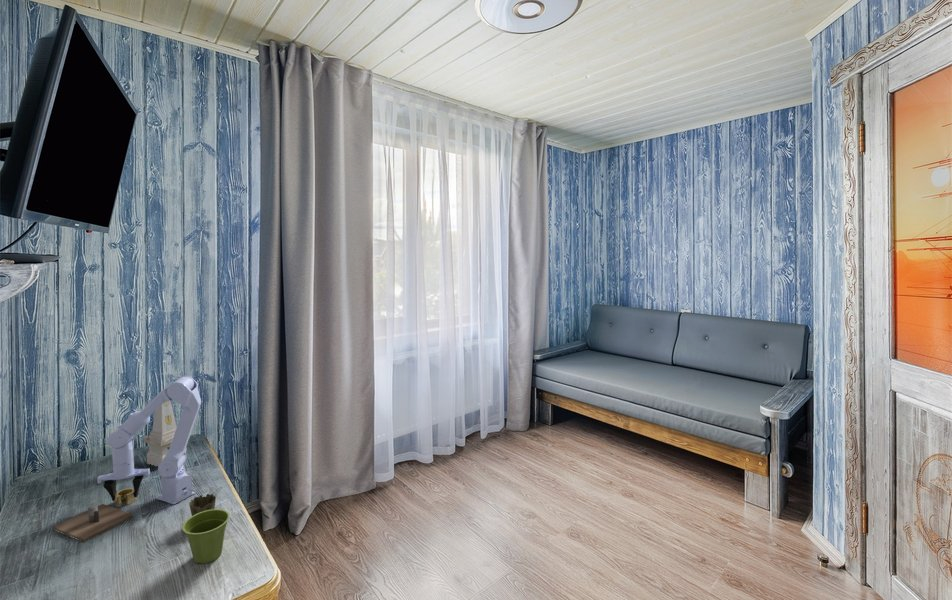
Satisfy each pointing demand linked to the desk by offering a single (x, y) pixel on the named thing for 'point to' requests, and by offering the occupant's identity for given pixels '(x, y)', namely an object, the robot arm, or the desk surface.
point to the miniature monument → (161, 434)
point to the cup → (202, 504)
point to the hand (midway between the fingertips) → (125, 497)
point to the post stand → (93, 522)
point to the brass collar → (125, 496)
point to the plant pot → (206, 534)
